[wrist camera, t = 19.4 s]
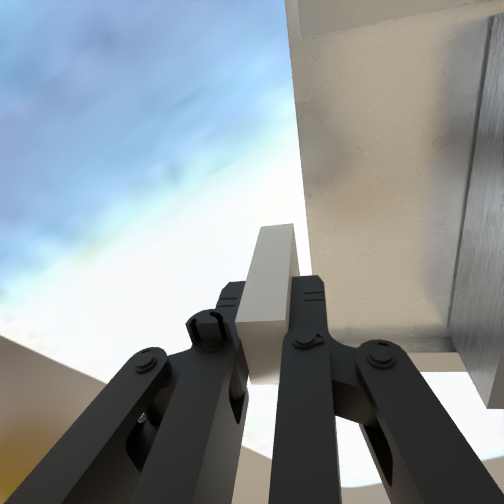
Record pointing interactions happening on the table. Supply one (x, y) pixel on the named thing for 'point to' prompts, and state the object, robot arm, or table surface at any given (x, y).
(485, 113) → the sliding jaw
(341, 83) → the beige square tray
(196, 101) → the table surface
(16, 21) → the table surface
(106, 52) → the table surface
